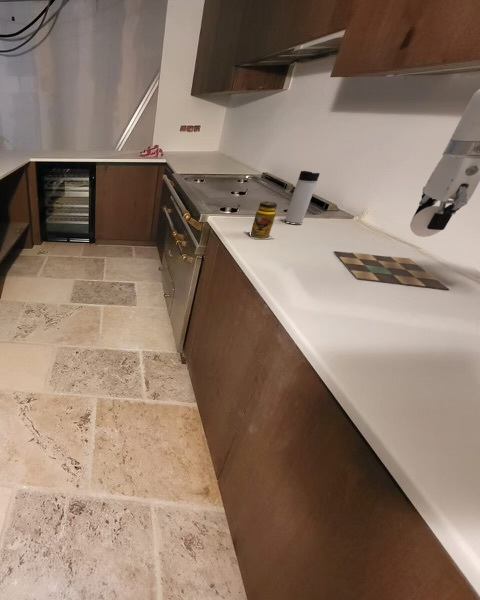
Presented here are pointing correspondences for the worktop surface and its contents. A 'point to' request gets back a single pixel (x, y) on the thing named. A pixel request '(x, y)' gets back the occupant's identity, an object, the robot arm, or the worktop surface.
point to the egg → (424, 222)
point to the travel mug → (301, 197)
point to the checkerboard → (388, 270)
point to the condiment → (263, 221)
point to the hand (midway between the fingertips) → (427, 224)
